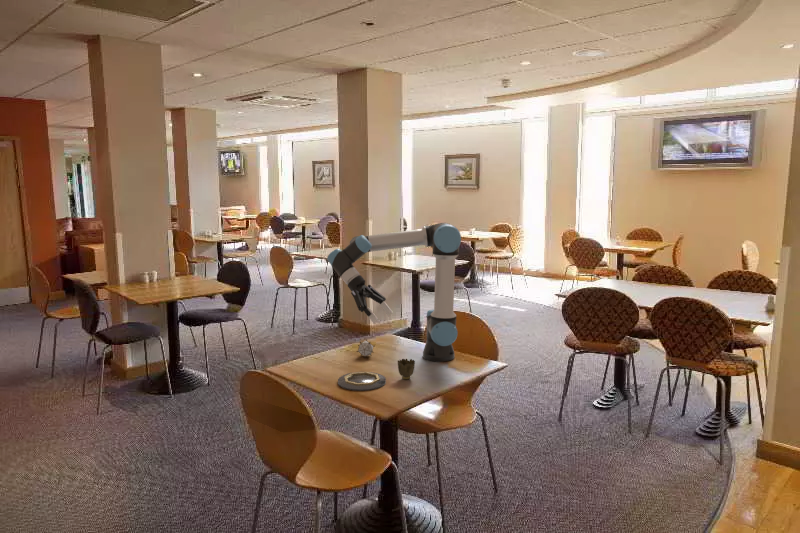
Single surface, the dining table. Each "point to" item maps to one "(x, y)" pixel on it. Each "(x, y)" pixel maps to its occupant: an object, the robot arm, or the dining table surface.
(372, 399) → the dining table surface
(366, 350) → the game die
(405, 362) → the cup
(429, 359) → the robot arm
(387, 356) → the dining table surface
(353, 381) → the carrier plate
